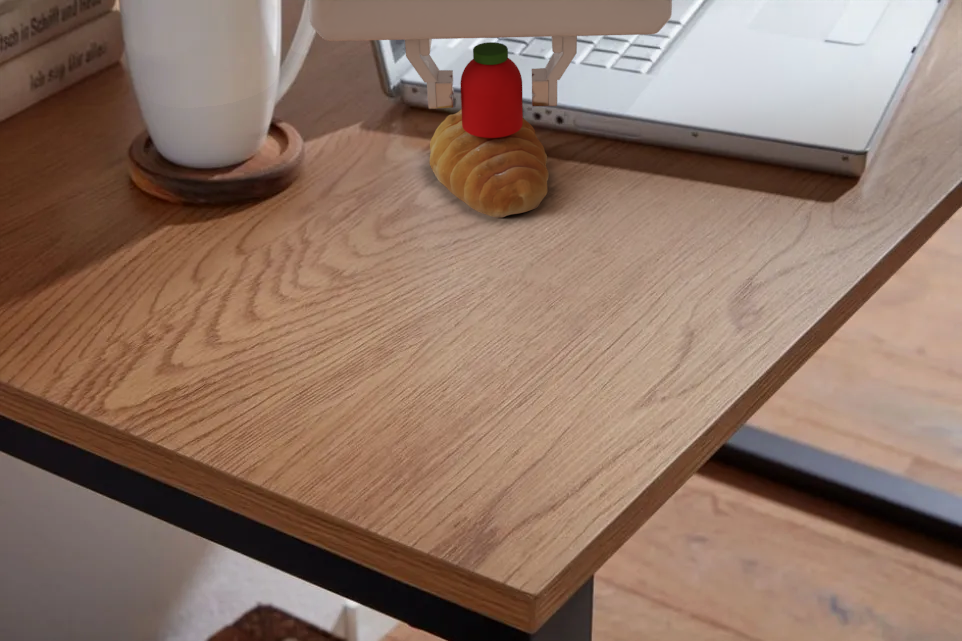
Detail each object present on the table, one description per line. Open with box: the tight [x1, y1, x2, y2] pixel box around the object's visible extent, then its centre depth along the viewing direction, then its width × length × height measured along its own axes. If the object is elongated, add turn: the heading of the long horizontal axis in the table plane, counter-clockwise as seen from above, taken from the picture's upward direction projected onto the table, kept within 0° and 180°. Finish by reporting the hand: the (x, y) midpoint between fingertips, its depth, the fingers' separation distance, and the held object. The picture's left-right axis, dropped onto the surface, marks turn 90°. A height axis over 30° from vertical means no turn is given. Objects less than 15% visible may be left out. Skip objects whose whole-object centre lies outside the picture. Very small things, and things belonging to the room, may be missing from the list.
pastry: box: [428, 108, 549, 219], centre depth 80 cm, size 9×7×4 cm
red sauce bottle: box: [459, 41, 524, 138], centre depth 78 cm, size 4×4×5 cm
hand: (492, 103), depth 79 cm, fingers open, 5 cm apart
